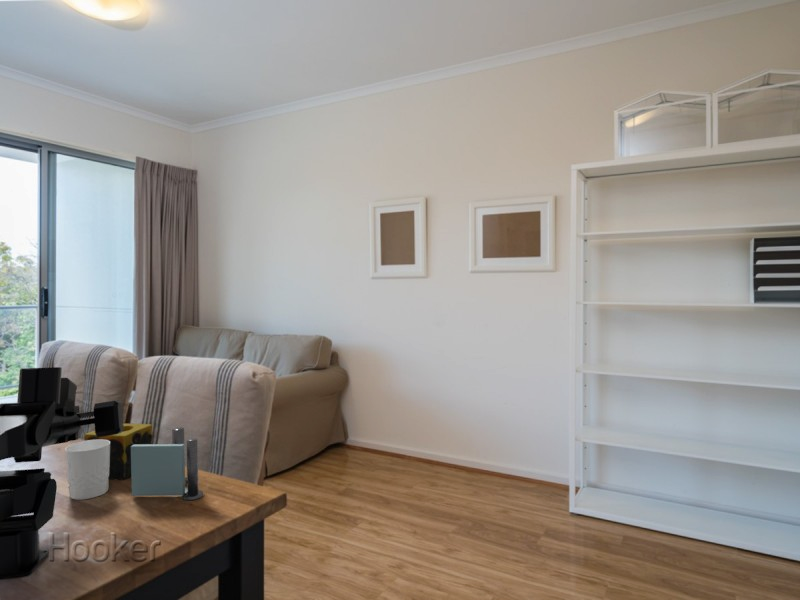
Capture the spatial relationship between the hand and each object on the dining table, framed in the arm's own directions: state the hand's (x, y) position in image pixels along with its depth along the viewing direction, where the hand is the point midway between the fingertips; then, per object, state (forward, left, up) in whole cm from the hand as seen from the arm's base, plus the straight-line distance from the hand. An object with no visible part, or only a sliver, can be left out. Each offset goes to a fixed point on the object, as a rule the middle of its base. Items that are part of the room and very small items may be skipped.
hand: (85, 421), depth 100 cm
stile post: (+5, -16, -15) cm, 23 cm away
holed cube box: (+15, -1, -16) cm, 22 cm away
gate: (-3, -14, -15) cm, 21 cm away
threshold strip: (+2, -16, -15) cm, 22 cm away
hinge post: (-4, -21, -15) cm, 26 cm away
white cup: (+3, +1, -16) cm, 16 cm away
